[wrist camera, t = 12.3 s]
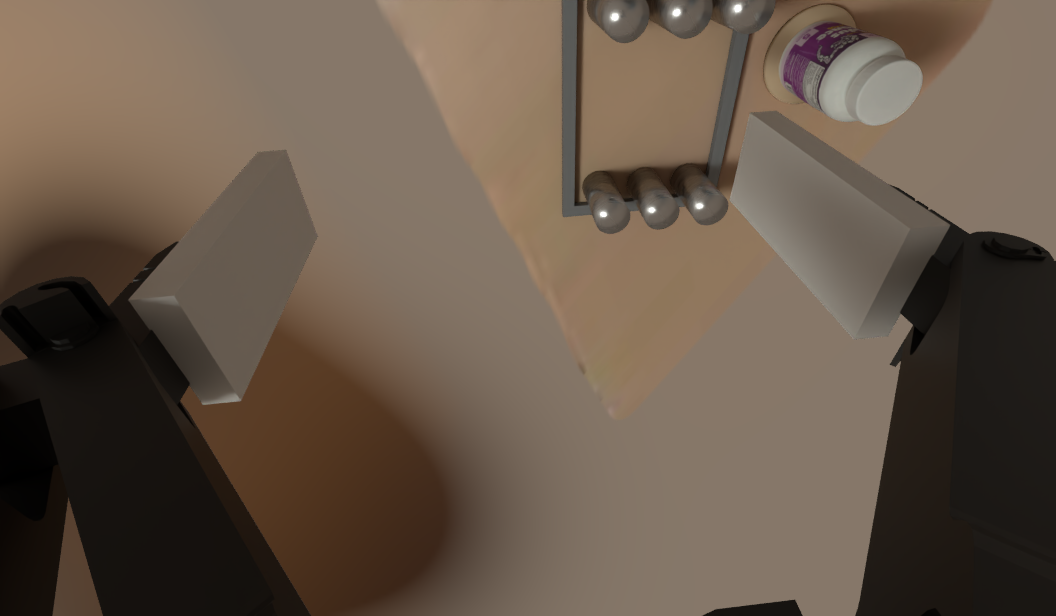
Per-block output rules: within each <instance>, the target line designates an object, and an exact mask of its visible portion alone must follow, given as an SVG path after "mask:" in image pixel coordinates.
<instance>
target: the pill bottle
mask: <svg viewBox="0 0 1056 616" xmlns="http://www.w3.org/2000/svg"><path fill="white" fill-rule="evenodd" d="M779 77H780V81H781V84H782V85H783V87H784V88H785V89H786V90H787V91H789V92H790V93H792V94H793V95H795V96H796V97H798V98H800V99H801V100H803V101H804V102H806V103H808V104H809V105H811V106H812V107H814V108H816V109H817V110H819V111H821V112H822V113H824V114H826V115H827V116H829V117H830V118H833V119H835V120H838V121H843V122H853V121H860V122H862V123H865V124H867V125H882V124H885V123H888V122H890V121H892V120H894V119H896V118H897V117H899V116H900V115H901V114H903V113H904V112H905V111H906V110H907V109H908V108H909V107H910V106H911V105H912V103H913V102H914V101H915V99H916V98H917V96H918V94H919V92H920V89H921V86H922V81H923V77H922V71H921V69H920V67H919V66H918V65H917V64H916V63H914V62H913V61H911V60H908V59H906V57H905V54H904V52H903V50H902V48H901V47H900V46H899V45H898V44H897V43H896V42H894V41H892V40H890V39H888V38H885V37H882V36H879V35H876V34H872V33H869V32H866V31H863V30H860V29H857V28H854V27H850V26H847V25H844V24H841V23H837V22H833V21H820V22H815V23H813V24H811V25H809V26H807V27H805V28H803V29H802V30H801V31H800V32H799V33H797V34H796V35H795V36H794V37H793V38H792V39H791V41H790V42H789V43H788V45H787V46H786V48H785V50H784V52H783V54H782V57H781V59H780V63H779Z"/></svg>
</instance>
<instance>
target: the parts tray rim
mask: <svg viewBox="0 0 1056 616" xmlns="http://www.w3.org/2000/svg"><path fill="white" fill-rule="evenodd" d="M748 37H749V34H742V33H739V32H737V31H735V30H733V34H732V39H731V45H730V50H729V55H728V60H727V66H726V71H725V76H724V81H723V86H722V92H721V97H720V102H719V107H718V112H717V118H716V123H715V128H714V133H713V138H712V144H711V149H710V154H709V159H708V164H707V170H706V176H707V178H708V179H709V180H710V181H711V182H712V183H713V184H714V185H715V187H716V188H717V184H718V179H719V174H720V170H721V165H722V160H723V155H724V151H725V146H726V141H727V136H728V132H729V127H730V122H731V117H732V113H733V108H734V103H735V98H736V94H737V89H738V84H739V79H740V75H741V70H742V65H743V60H744V56H745V51H746V46H747V42H748ZM576 54H577V0H562V214H563V217H570V216H582V215H592V213H591V210H590V208H589V205H588V203H587V202H581V203H574V194H575V124H576ZM672 197H673V198H674V200H675V201H676V202H677V204H678V206H679V207H685V205H684V204H683V203H682V201H681V200H680V198H679V197H678V196H677V194H675V195H672ZM623 200H624V202H625V203H626V205H627V207H628V209H629V211H639V209H638V208H637V206H636V204H635V202H634V200H633V199H632V198H628V199H623Z"/></svg>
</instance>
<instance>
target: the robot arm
mask: <svg viewBox="0 0 1056 616" xmlns="http://www.w3.org/2000/svg"><path fill="white" fill-rule="evenodd" d="M730 201H731V202H732V204H733V205H734V206H735V207H736V208H737V209H738V210H739V211H740V212H741V214H742V215H743V216H744V217H745V218H746V219H747V220H748V221H749V223H750V224H751V225H752V226H753V227H754V228H755V229H756V230H757V231H758V233H759V234H760V235H761V236H762V237H763V238H764V239H765V240H766V242H767V243H768V244H769V245H770V246H771V247H772V248H773V249H774V250H775V252H776V253H777V254H778V255H779V256H780V257H781V258H782V259H783V260H784V262H785V263H786V264H787V265H788V266H789V267H790V268H791V269H792V270H793V272H794V273H795V274H796V275H797V276H798V277H799V278H800V280H801V281H802V282H803V283H804V284H805V285H806V286H807V287H808V288H809V290H810V291H811V292H812V293H813V294H814V295H815V296H816V297H817V299H818V300H819V301H820V302H821V303H822V304H823V305H824V306H825V307H826V309H827V310H828V311H829V312H830V313H831V314H832V315H833V316H834V317H835V319H836V320H837V321H838V322H839V323H840V324H841V325H842V326H843V327H844V329H845V330H846V331H847V332H848V333H849V334H850V335H851V337H852V338H853V339H864V338H874V337H884V336H888V335H889V333H890V332H891V330H892V328H893V326H894V325H895V323H896V321H897V319H898V318H899V316H900V314H902V315H903V316H904V317H905V318H906V319H907V320H908V321H910V322H911V323H912V324H913V327H912V328H911V330H910V332H909V333H908V335H907V337H906V339H905V340H904V342H903V343H902V345H901V347H900V348H899V350H898V352H897V353H896V355H895V357H894V358H893V360H892V362H891V363H890V365H892V366H895V367H896V366H897V364H898V363H899V362H900V361H901V365H900V370H899V376H898V382H897V388H896V393H895V400H894V405H893V411H892V417H891V422H890V428H889V434H888V440H887V445H886V451H885V457H884V464H883V469H882V474H881V480H880V486H879V492H878V497H877V504H876V509H875V515H874V520H873V526H872V532H871V538H870V544H869V549H868V555H867V561H866V567H865V573H864V579H863V584H862V590H861V596H860V601H859V605H858V609H857V612H856V615H855V616H1056V261H1054V259H1053V258H1052V256H1051V255H1050V253H1049V252H1048V251H1047V250H1045V249H1044V248H1043V247H1041V246H1039V245H1037V244H1035V243H1033V242H1031V241H1028V240H1026V239H1024V238H1020V237H1017V236H1013V235H1009V234H1005V233H998V232H975V233H972V234H969V233H967V232H966V231H964V230H962V229H961V228H959V227H958V226H956V225H955V224H953V223H952V222H950V221H948V220H947V219H945V218H944V217H942V216H941V215H939V214H938V213H936V212H935V211H933V210H928V207H927V206H925V205H924V204H922V203H921V202H919V201H915V198H913V197H912V196H910V195H908V194H907V193H905V192H904V191H902V190H901V189H899V188H897V187H894V186H892V185H889V184H887V183H886V182H884V181H882V180H881V179H879V178H878V177H876V176H875V175H873V174H872V173H870V172H869V171H867V170H866V169H864V168H863V167H861V166H860V165H858V164H857V163H855V162H853V161H852V160H850V159H849V158H847V157H846V156H844V155H843V154H841V153H840V152H838V151H837V150H835V149H834V148H832V147H831V146H829V145H828V144H826V143H824V142H823V141H821V140H820V139H818V138H817V137H815V136H814V135H812V134H811V133H809V132H808V131H806V130H805V129H803V128H802V127H800V126H799V125H797V124H796V123H794V122H792V121H791V120H789V119H788V118H786V117H785V116H783V115H782V114H780V113H779V112H777V111H766V112H754V113H750V115H749V119H748V124H747V128H746V132H745V137H744V141H743V145H742V150H741V154H740V158H739V162H738V167H737V171H736V175H735V180H734V184H733V188H732V193H731V197H730ZM317 237H318V236H317V233H316V230H315V227H314V225H313V222H312V219H311V217H310V214H309V211H308V209H307V206H306V203H305V200H304V197H303V195H302V192H301V189H300V187H299V184H298V181H297V178H296V176H295V173H294V170H293V168H292V165H291V162H290V159H289V157H288V154H287V151H286V150H278V151H264V152H257V154H256V155H255V156H254V157H253V158H252V159H251V160H250V162H249V163H248V164H247V165H246V166H245V167H244V169H242V171H241V172H240V173H239V174H238V175H237V176H236V177H235V179H234V180H233V181H232V182H231V183H230V184H229V185H228V187H227V188H226V189H225V190H224V191H223V192H222V193H221V195H220V196H219V197H218V198H217V199H216V201H214V203H213V204H212V205H211V206H210V207H209V208H208V209H207V211H206V212H205V213H204V214H203V215H202V216H201V217H200V219H199V220H198V221H197V222H196V223H195V224H194V226H193V227H192V228H191V229H190V230H189V231H188V232H187V234H186V235H185V236H184V237H183V238H182V239H181V240H180V241H179V242H175V243H173V244H172V245H170V246H169V247H167V248H166V249H164V250H163V251H161V252H159V253H158V254H156V255H155V256H154V257H153V258H152V259H151V261H150V262H149V263H148V264H147V265H146V266H145V267H144V268H143V269H144V271H141V272H140V273H139V274H138V275H137V276H136V277H135V278H134V279H133V283H130V284H129V285H128V286H127V287H126V288H125V289H124V290H123V291H122V293H120V295H119V296H118V297H117V298H116V299H115V300H114V301H113V302H112V303H111V304H110V306H108V305H107V303H106V302H105V301H104V300H103V298H102V297H101V296H100V294H99V293H98V292H97V290H96V289H95V288H94V286H93V285H92V284H91V282H90V281H88V280H87V279H85V278H84V277H72V276H71V277H64V278H57V279H52V280H49V281H46V282H42V283H39V284H36V285H34V286H31V287H29V288H27V289H25V290H22V291H20V292H18V293H16V294H15V295H13V296H12V297H10V298H8V299H7V300H5V301H4V302H3V303H2V304H0V329H1V330H2V331H3V332H4V333H5V334H6V335H7V336H8V338H9V339H11V341H12V342H13V343H14V344H15V345H16V346H17V347H18V348H19V349H20V350H21V351H22V352H23V353H24V354H25V355H26V356H27V357H28V358H27V359H24V360H20V361H17V362H13V363H10V364H6V365H2V366H0V616H52V614H53V607H54V599H55V592H56V584H57V577H58V570H59V562H60V555H61V547H62V540H63V532H64V525H65V517H66V510H67V503H68V497H69V501H70V504H71V507H72V511H73V514H74V518H75V521H76V525H77V528H78V532H79V535H80V538H81V542H82V545H83V548H84V552H85V556H86V559H87V562H88V566H89V569H90V572H91V576H92V579H93V583H94V586H95V590H96V593H97V597H98V600H99V603H100V607H101V610H102V614H103V616H311V615H310V613H309V611H308V610H307V608H306V606H305V605H304V603H303V601H302V600H301V598H300V597H299V595H298V593H297V591H296V590H295V588H294V586H293V585H292V583H291V582H290V580H289V578H288V577H287V575H286V573H285V572H284V570H283V568H282V567H281V565H280V563H279V562H278V560H277V558H276V557H275V555H274V553H273V552H272V550H271V548H270V547H269V545H268V544H267V542H266V540H265V538H264V537H263V535H262V533H261V532H260V530H259V529H258V527H257V525H256V523H255V522H254V520H253V518H252V517H251V515H250V513H249V512H248V510H247V509H246V507H245V505H244V503H243V502H242V500H241V498H240V497H239V495H238V493H237V492H236V490H235V489H234V487H233V485H232V484H231V482H230V480H229V479H228V477H227V475H226V474H225V472H224V470H223V469H222V467H221V465H220V464H219V462H218V460H217V459H216V457H215V455H214V454H213V452H212V450H211V449H210V447H209V446H208V444H207V442H206V440H205V439H204V437H203V436H202V434H201V432H200V430H199V429H198V427H197V426H196V424H195V422H194V421H193V419H192V417H191V415H190V414H189V412H188V411H187V410H186V408H185V407H184V406H183V404H182V403H181V401H180V400H181V398H182V396H183V395H184V393H185V391H186V390H187V388H188V386H190V387H191V388H192V390H193V391H194V392H195V394H196V395H197V397H198V398H199V399H200V401H201V402H202V404H203V405H204V404H215V403H225V402H235V401H241V400H242V397H243V395H244V393H245V391H246V389H247V387H248V384H249V382H250V380H251V378H252V376H253V374H254V371H255V370H256V367H257V365H258V363H259V361H260V359H261V357H262V355H263V352H264V350H265V348H266V346H267V344H268V342H269V340H270V337H271V335H272V333H273V331H274V329H275V327H276V325H277V322H278V320H279V318H280V316H281V314H282V311H283V310H284V307H285V305H286V303H287V301H288V299H289V297H290V294H291V292H292V290H293V288H294V286H295V284H296V282H297V280H298V277H299V275H300V273H301V271H302V269H303V266H304V264H305V262H306V260H307V258H308V256H309V254H310V252H311V250H312V247H313V245H314V243H315V241H316V239H317ZM703 616H802V614H801V611H800V609H799V607H798V605H797V603H796V601H795V600H789V601H781V602H773V603H764V604H757V605H748V606H740V607H731V608H723V609H716V610H714V611H712V612H709V613H707V614H705V615H703Z"/></svg>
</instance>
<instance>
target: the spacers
mask: <svg viewBox="0 0 1056 616" xmlns="http://www.w3.org/2000/svg"><path fill="white" fill-rule="evenodd" d="M774 8H775V0H587V11H588V14H589V17H590V18H591V20H592V21H593V22H594V23H595V24H596V25H598V26H599V27H600V28H601V29H602V30H603V31H604V32H605V33H606V34H608V35H609V36H610V37H611V38H612V39H613V40H615V41H617V42H620V43H628V42H631V41H634V40H635V39H637V38H638V37H639V36H640V35H641V34H642V33H643V32H644V30H645V28H646V26H647V24H648V20H651V21H653V22H654V23H656V24H658V25H659V26H661V27H662V28H664V29H666V30H667V31H669V32H671V33H672V34H674V35H676V36H677V37H680V38H684V39H687V38H692V37H694V36H696V35H698V34H699V33H701V32H702V31H703V30H704V28H705V27H706V26H707V24H708V23H709V21H710V19H711V20H713V21H715V22H717V23H719V24H722V25H724V26H726V27H728V28H730V29H733V30H735V31H737V32H739V33H742V34H751V33H754V32H756V31H758V30H760V29H761V28H762V27H763V26H764V25H765V24H766V23H767V22H768V21H769V19H770V18H771V16H772V14H773V11H774ZM670 184H671V187H672V189H673V190H674V191H675V193H676V194H677V196H678V197H679V198H680V200H681V201H682V203H683V204H684V205H685V207H686V208H687V209H688V211H689V212H690V214H691V215H692V216H693V218H694V219H695V220H696V222H698V223H699V224H701V225H711V224H714V223H716V222H718V221H719V220H721V219H722V218H723V217H724V215H725V214H726V212H727V209H728V201H727V199H726V198H725V197H724V196H723V194H722V193H721V192H720V191H719V190H718V189H717V188H716V187H715V185H714V184H713V183H712V182H711V181H710V180H709V179H708V178H707V176H706V175H705V174H704V173H703V172H702V171H701V170H700V169H699V167H698V166H696V165H694V164H684V165H681V166H680V167H678V168H677V169H676V170H675V171H674V172H673V174H672V176H671V179H670ZM626 186H627V190H628V192H629V193H630V195H631V197H632V199H633V200H634V202H635V204H636V206H637V208H638V209H639V211H640V213H641V215H642V216H643V218H644V220H645V222H646V223H647V225H648V226H649V227H651V228H653V229H664V228H667V227H669V226H670V225H672V224H673V223H674V222H675V221H676V219H677V218H678V215H679V206H678V204H677V202H676V201H675V200H674V198H673V197H672V195H671V194H670V192H669V191H668V190H667V188H666V187H665V185H664V184H663V183H662V181H661V180H660V178H659V177H658V175H657V174H656V173H655V171H654V170H652V169H651V168H648V167H642V168H638V169H636V170H635V171H633V172H632V173H631V174H630V175H629V177H628V179H627V183H626ZM582 190H583V193H584V195H585V198H586V200H587V203H588V205H589V208H590V210H591V213H592V215H593V218H594V220H595V223H596V225H597V227H598V229H599V230H600V231H602V232H604V233H607V234H613V233H617V232H619V231H621V230H623V229H624V228H625V227H626V226H627V224H628V222H629V220H630V211H629V209H628V207H627V205H626V203H625V202H624V200H623V198H622V196H621V194H620V192H619V190H618V188H617V186H616V185H615V183H614V181H613V179H612V177H611V176H610V175H609V174H608V173H606V172H604V171H596V172H593V173H591V174H589V175H588V176H587V177H586V178H585V180H584V182H583V185H582Z"/></svg>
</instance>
